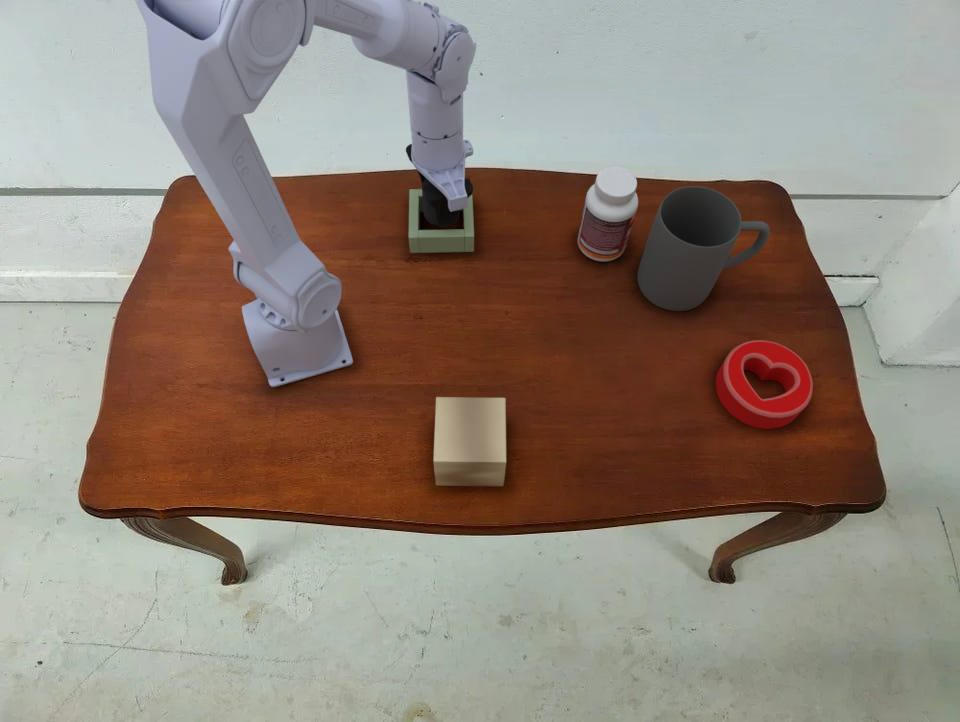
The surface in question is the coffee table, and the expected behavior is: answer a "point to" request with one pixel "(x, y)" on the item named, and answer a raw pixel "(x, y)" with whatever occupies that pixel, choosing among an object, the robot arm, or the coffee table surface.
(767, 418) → the decorative ornament
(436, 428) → the stand
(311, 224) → the coffee table surface
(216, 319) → the coffee table surface
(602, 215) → the pill bottle
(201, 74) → the robot arm
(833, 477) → the coffee table surface
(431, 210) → the pad plug
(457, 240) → the holder
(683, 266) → the mug
